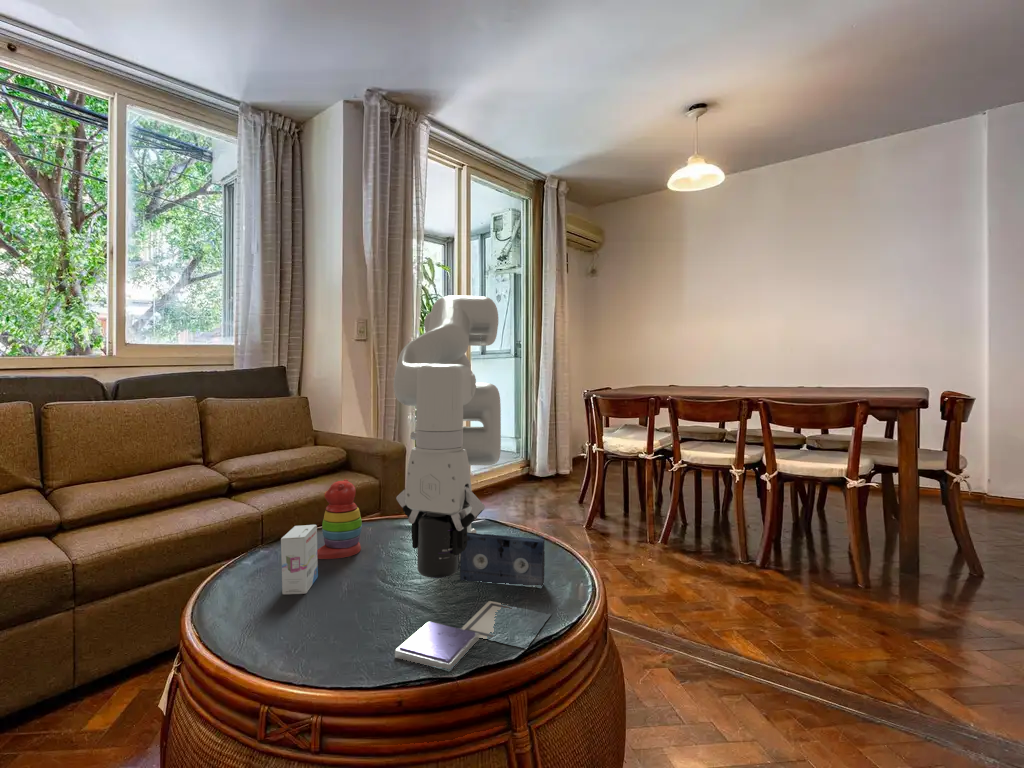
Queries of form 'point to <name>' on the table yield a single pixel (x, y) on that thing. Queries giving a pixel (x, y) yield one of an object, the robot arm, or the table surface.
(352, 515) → the stacking bear
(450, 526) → the supplement bottle
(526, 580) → the vhs cassette tape
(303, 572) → the ink box
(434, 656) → the ink pad
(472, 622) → the marked card
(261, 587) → the table surface
